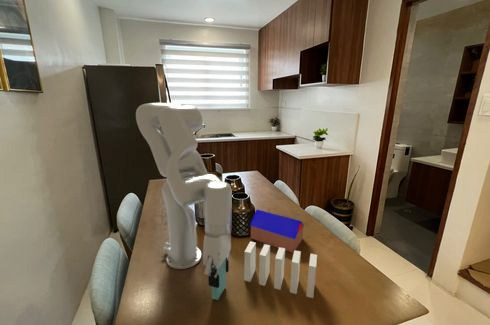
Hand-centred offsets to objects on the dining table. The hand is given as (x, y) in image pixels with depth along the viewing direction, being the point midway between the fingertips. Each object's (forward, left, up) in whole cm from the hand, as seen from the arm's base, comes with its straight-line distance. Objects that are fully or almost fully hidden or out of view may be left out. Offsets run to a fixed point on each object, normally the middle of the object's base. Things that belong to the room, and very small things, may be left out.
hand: (218, 277), depth 71 cm
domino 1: (0, 0, -5) cm, 5 cm away
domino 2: (+6, +11, -6) cm, 14 cm away
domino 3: (+11, +11, -6) cm, 17 cm away
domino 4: (+16, +11, -6) cm, 20 cm away
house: (+10, +35, -6) cm, 37 cm away
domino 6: (+26, +11, -6) cm, 29 cm away
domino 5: (+21, +11, -6) cm, 25 cm away
